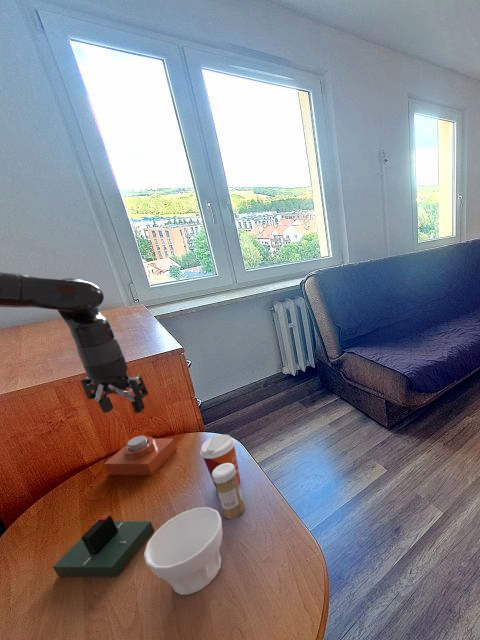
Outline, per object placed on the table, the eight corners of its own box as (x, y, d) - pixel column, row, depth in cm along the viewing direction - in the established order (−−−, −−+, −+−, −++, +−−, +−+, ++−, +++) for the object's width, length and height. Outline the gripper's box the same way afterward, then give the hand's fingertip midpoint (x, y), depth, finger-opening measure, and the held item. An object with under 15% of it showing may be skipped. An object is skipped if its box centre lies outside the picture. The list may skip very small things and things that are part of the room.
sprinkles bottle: (248, 502, 84) (237, 461, 79) (239, 519, 80) (227, 477, 75) (230, 503, 84) (218, 462, 79) (220, 520, 79) (207, 477, 75)
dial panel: (58, 576, 68) (51, 566, 66) (102, 530, 77) (98, 520, 76) (116, 577, 68) (111, 566, 66) (154, 530, 77) (150, 520, 76)
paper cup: (234, 497, 85) (223, 454, 80) (205, 496, 85) (191, 454, 80) (250, 473, 93) (240, 432, 88) (223, 472, 93) (211, 432, 88)
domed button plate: (108, 474, 92) (101, 458, 90) (138, 448, 101) (131, 432, 99) (151, 475, 92) (145, 458, 90) (177, 449, 101) (171, 433, 99)
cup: (201, 613, 62) (186, 574, 58) (143, 600, 64) (125, 562, 60) (245, 547, 73) (235, 511, 69) (195, 538, 75) (183, 502, 71)
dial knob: (97, 554, 69) (88, 536, 67) (89, 554, 69) (80, 536, 67) (118, 531, 74) (110, 514, 72) (111, 531, 74) (103, 514, 72)
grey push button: (125, 451, 93) (123, 445, 92) (137, 441, 96) (135, 435, 96) (140, 451, 93) (137, 445, 92) (151, 441, 96) (149, 435, 96)
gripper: (59, 364, 79) (84, 419, 85) (117, 365, 79) (138, 420, 85) (89, 350, 86) (111, 402, 92) (142, 350, 86) (161, 403, 92)
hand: (124, 411), depth 89 cm, fingers open, 8 cm apart
